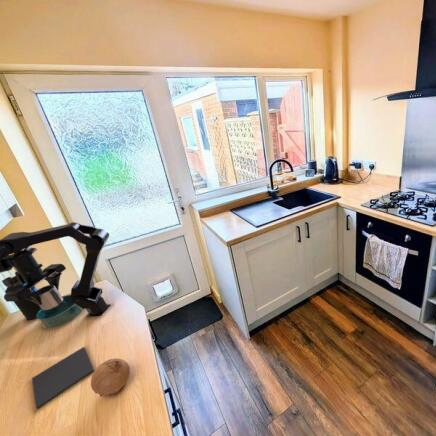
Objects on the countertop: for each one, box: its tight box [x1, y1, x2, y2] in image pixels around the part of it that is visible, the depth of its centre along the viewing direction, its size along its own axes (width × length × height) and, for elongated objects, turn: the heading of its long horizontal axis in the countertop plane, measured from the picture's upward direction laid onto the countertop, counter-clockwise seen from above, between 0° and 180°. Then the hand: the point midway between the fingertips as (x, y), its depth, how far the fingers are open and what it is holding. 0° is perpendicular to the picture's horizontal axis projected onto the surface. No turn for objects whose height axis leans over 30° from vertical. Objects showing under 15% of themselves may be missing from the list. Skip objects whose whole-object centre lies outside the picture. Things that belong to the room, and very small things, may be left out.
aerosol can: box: [4, 283, 41, 322], centre depth 104 cm, size 8×8×20 cm
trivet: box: [31, 346, 95, 410], centre depth 80 cm, size 14×14×1 cm
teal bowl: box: [36, 293, 84, 329], centre depth 105 cm, size 14×14×6 cm
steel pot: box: [36, 284, 63, 310], centre depth 97 cm, size 7×7×7 cm
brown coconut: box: [90, 357, 131, 397], centre depth 73 cm, size 10×9×10 cm
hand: (49, 298), depth 97 cm, fingers closed on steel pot, 6 cm apart
